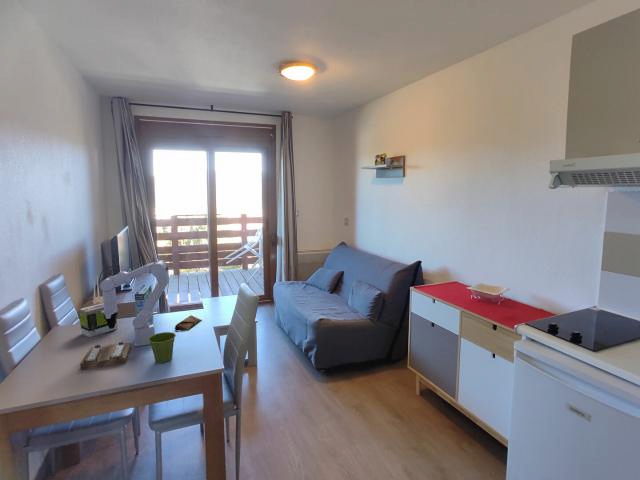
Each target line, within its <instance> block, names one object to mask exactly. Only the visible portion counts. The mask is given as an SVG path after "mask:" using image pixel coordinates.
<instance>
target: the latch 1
mask: <svg viewBox="0 0 640 480" xmlns="http://www.w3.org/2000/svg"><path fill="white" fill-rule="evenodd" d="M100 350H101V347H98V348H93V350H92V352H91V354H90V355H89V357H88V359H87V361H94V360H95V359H96V357H97V355H98V353H99V351H100Z"/></svg>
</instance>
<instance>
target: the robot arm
mask: <svg viewBox="0 0 640 480" xmlns="http://www.w3.org/2000/svg"><path fill="white" fill-rule="evenodd" d="M169 268H170V267H169V265H168V264H167V262H166V261H165V260H160V259H159V260H157V261H153V262H150V263H148V264H144V265H141V266H140V267H138V268H135V269H134V270H131V271H130V272H127V271H119V272H118V273H117V274H115V275H110V276H109V277H106V278H105V279H104V280H102V281H101V282H100V284H99V288H100V290H102V301H103V302H102V303H103V304H104V310H103V311H102V312H101V313H104V314H105V315H104V319H105V320H106V321H107V324H108V327H109V329H113V328H114V327H115V323H116V320H117V317H118V314H119V310H118V303H117V291H116V288H118V287H120V286H122V285H125V284H127V283H130V281H131V279H133V278H135V277H137V276H141V275H143V274H147V275H153V277H154V278H156V281H157V283H156V284H155V286H154V288H153V289H152V293H151V295H150V297H149V299H148V300H147V302H146V304H145V305H144V307H143V309H142V310H141V312H140V313H139V314H138V315H137V317H136V316H135V317H134V318H133V319H132V325H133V327H134V337H135V342H134V344H133V347H139V346H140V347H141V346H147V345H149V346H150V342H149V341H148V338H149V337H151V336H152V335H155V334H156V329H155V324H152V325H150V323H149V322H148V321H149V320H150V314H151V312H152V310H153V311H154V308H155V306H156V305H157V303H158V301H159V299H160V298H161V296H162V295H163V293H164V291H165V290H166V288H167V286H168V285H169V282H170V275H169V274H170V273H169V271H170V270H169Z"/></svg>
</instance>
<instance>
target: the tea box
mask: <svg viewBox="0 0 640 480" xmlns="http://www.w3.org/2000/svg"><path fill="white" fill-rule="evenodd" d="M103 310H104V304H103V302H102V303H101V302H100V303H97V304H94V305H89V306H87V307H86V306H85V307H82V308H79V309H78V314H79V321H80V322H79V323H80V330H81V334H82V335H83V336H86V337H88V338H92V337H95V336H98V335H101V334H105V333H108V332H111V331H114V330H117V329H118V323H117V321H118V320H117V319H116V323H115V327H114V328H113V329H109V327H108V324H107V321H106V320H105V319H104V315H105V314H104V313H101V312H102V311H103Z"/></svg>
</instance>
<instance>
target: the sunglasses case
mask: <svg viewBox="0 0 640 480" xmlns="http://www.w3.org/2000/svg"><path fill="white" fill-rule="evenodd" d="M202 321H203V319H200V318H198V317H196V316H194V315H192V314H190V315H189V316H187V317H186V318H184V319H182V320H181V321H179V322H178V323H177V324H176V325H175V326H174V331H178V330H181V331H185V332H188V331H190V330H191V329H192V328H193V327H195V325H198V324H199V323H200V322H202ZM181 331H180V332H181Z"/></svg>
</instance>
